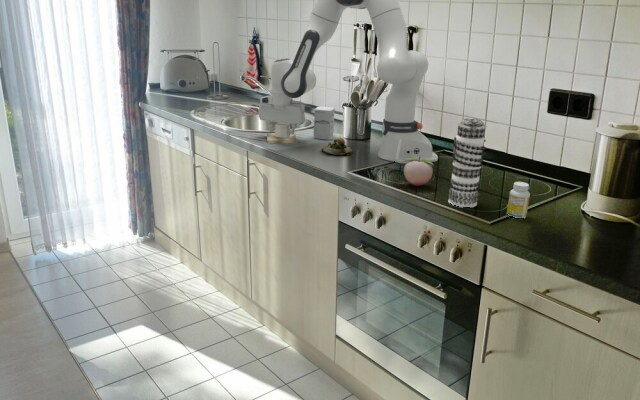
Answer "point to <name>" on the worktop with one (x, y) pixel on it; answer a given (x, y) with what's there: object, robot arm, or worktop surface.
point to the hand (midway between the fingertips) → (281, 132)
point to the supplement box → (323, 123)
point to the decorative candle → (467, 163)
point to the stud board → (281, 139)
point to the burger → (338, 147)
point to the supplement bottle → (518, 200)
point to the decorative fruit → (418, 171)
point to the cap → (282, 130)
